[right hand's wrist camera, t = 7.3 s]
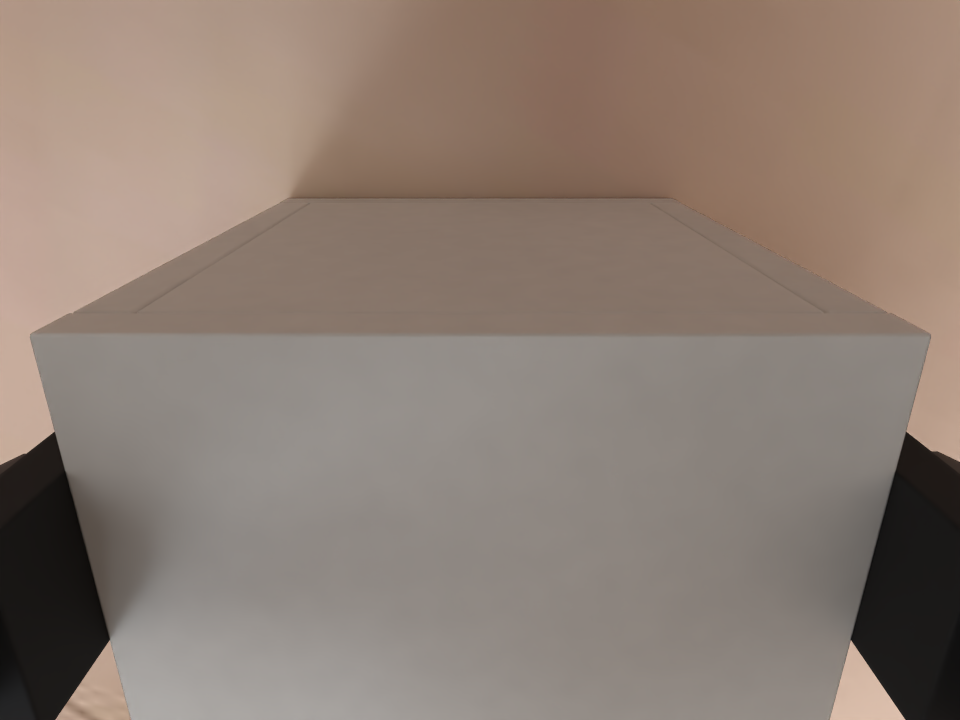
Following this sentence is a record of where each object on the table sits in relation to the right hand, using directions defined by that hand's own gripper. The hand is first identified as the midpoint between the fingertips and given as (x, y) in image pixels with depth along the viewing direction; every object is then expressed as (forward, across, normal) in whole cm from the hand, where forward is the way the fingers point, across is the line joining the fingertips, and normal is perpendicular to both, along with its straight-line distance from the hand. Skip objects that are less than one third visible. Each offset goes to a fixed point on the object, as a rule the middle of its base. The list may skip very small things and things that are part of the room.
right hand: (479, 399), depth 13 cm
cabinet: (+6, 0, -7) cm, 9 cm away
